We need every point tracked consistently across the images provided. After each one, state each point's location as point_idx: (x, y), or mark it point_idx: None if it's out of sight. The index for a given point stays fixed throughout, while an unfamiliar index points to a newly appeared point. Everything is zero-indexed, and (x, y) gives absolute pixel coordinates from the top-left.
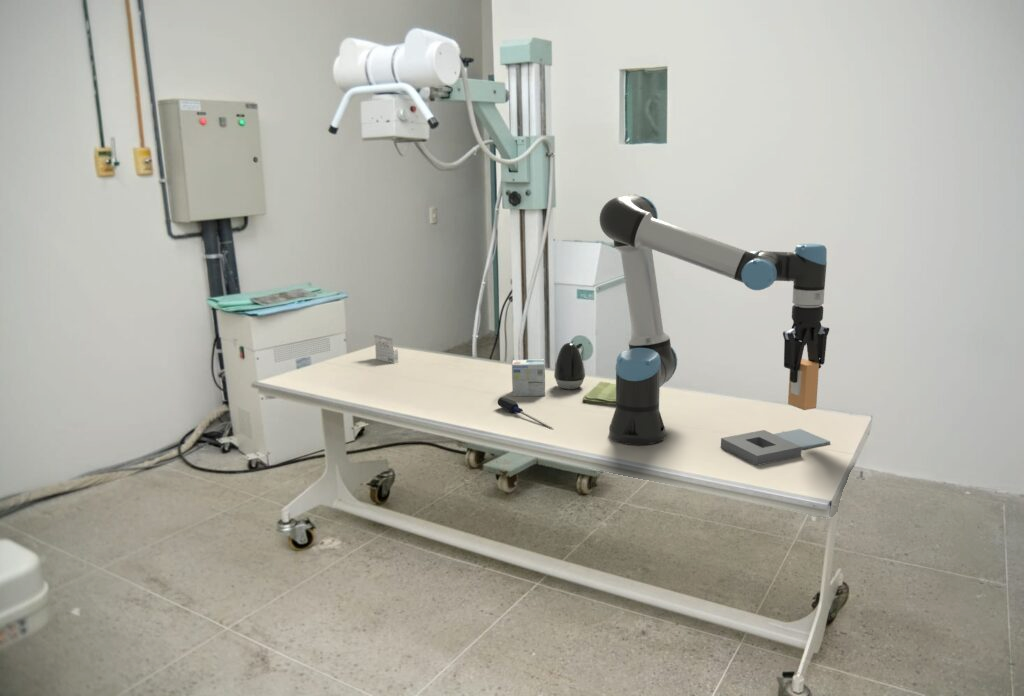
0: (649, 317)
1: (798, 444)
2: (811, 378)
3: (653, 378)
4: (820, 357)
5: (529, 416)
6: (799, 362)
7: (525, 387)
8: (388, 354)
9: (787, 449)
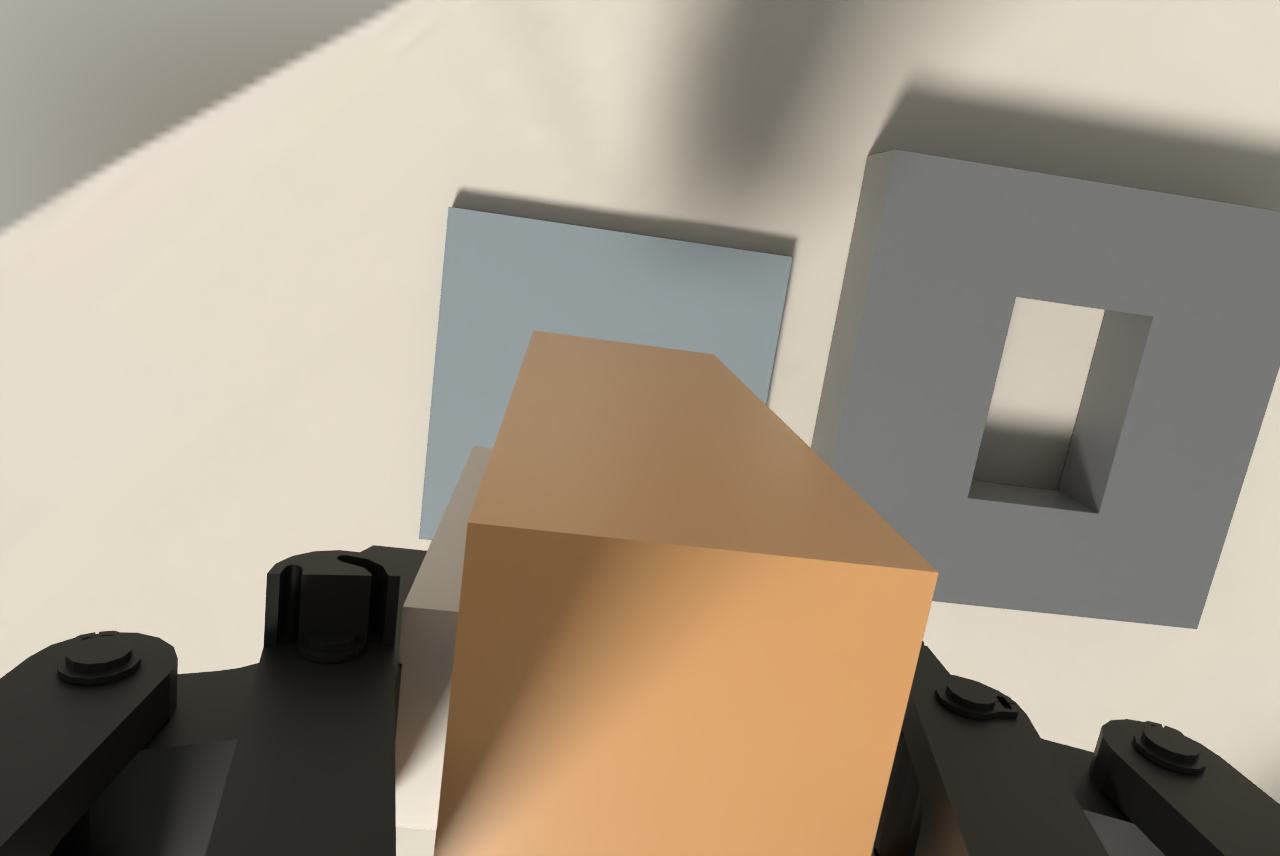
0: None
1: (720, 306)
2: (684, 437)
3: None
4: (84, 800)
5: None
6: (996, 805)
7: None
8: None
9: (1036, 174)
